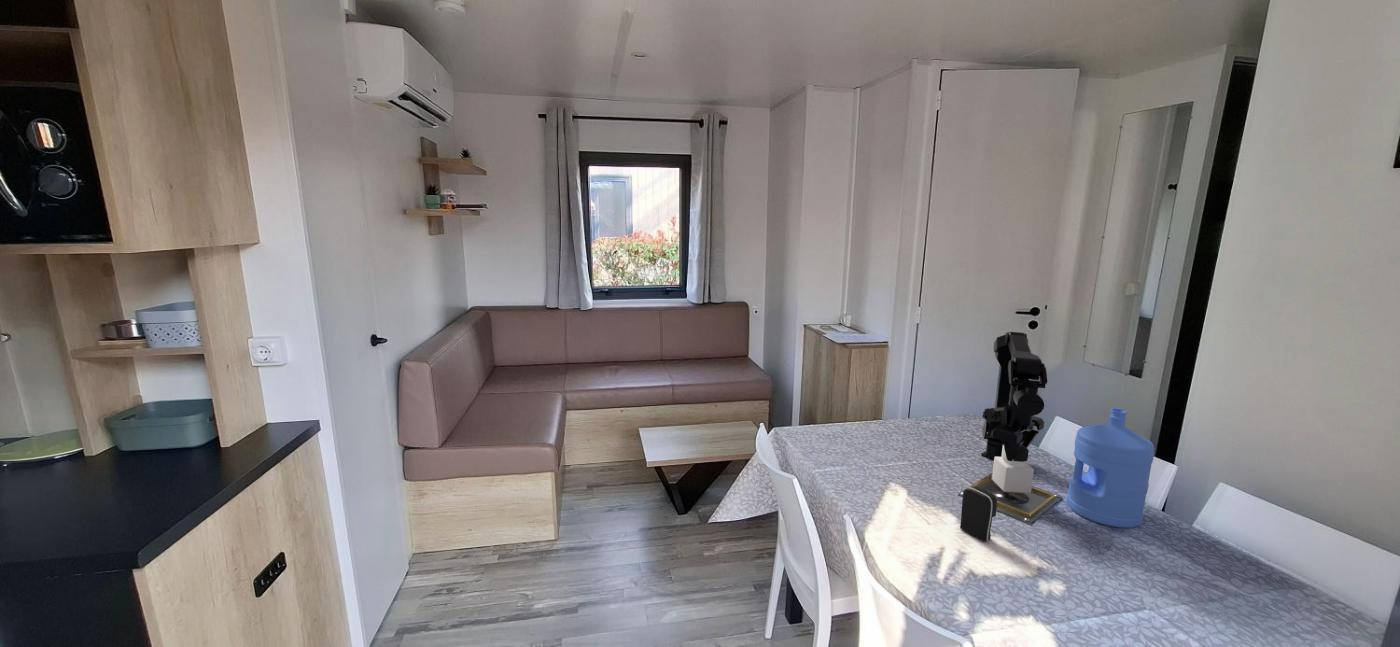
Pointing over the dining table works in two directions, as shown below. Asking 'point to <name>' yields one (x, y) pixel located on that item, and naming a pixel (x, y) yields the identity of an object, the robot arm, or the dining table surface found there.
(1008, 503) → the lid
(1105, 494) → the water jug
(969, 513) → the battery charger
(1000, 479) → the medicine bottle
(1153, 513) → the dining table surface
